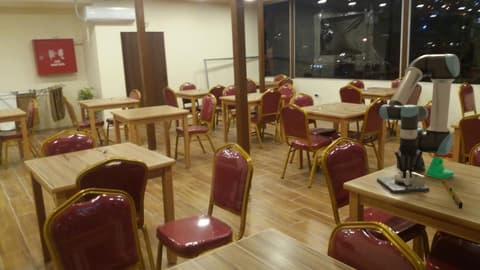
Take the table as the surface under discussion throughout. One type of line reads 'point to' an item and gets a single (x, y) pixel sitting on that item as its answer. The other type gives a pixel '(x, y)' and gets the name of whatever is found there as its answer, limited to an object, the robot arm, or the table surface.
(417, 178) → the silver ladle
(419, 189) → the stand
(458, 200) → the spirit level
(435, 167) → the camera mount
